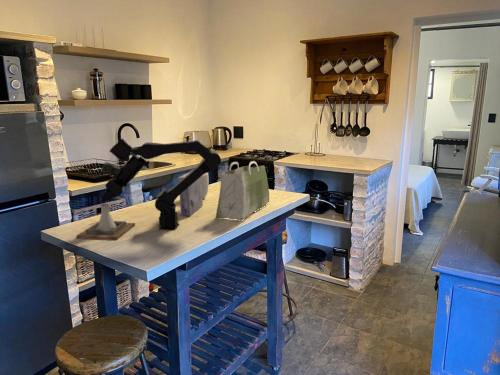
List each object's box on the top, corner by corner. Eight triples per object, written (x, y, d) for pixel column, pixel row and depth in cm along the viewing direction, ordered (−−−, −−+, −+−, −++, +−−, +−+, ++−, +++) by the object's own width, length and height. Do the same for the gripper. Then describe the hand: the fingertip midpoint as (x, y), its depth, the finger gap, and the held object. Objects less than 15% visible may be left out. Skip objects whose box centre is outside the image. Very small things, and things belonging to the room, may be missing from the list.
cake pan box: (194, 204, 183) (192, 169, 179) (204, 205, 182) (202, 169, 178) (179, 216, 165) (177, 177, 160) (190, 217, 164) (188, 177, 159)
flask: (118, 229, 145) (116, 205, 143) (99, 233, 141) (96, 208, 139) (114, 224, 151) (111, 201, 149) (95, 228, 147) (92, 204, 145)
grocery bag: (245, 200, 190) (244, 155, 184) (270, 203, 184) (270, 156, 179) (214, 218, 161) (212, 165, 156) (243, 222, 156) (242, 167, 150)
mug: (188, 194, 203) (186, 170, 200) (208, 193, 205) (207, 169, 202) (188, 201, 189) (186, 176, 186) (209, 200, 190) (208, 175, 187)
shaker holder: (135, 225, 153) (134, 219, 152) (117, 239, 138) (116, 233, 137) (98, 224, 155) (97, 218, 154) (76, 238, 139) (75, 231, 139)
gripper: (117, 151, 149) (92, 180, 150) (109, 158, 131) (80, 190, 132) (139, 170, 152) (114, 197, 153) (134, 179, 134) (105, 210, 135)
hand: (103, 198), depth 143 cm, fingers open, 9 cm apart
